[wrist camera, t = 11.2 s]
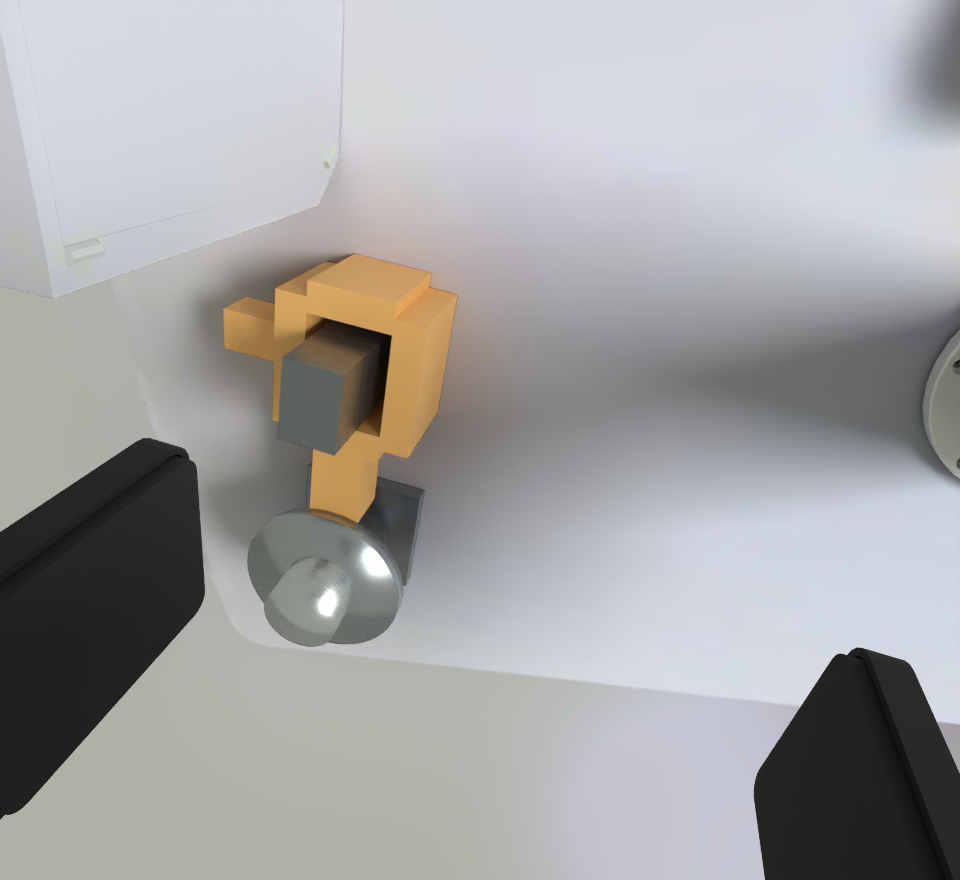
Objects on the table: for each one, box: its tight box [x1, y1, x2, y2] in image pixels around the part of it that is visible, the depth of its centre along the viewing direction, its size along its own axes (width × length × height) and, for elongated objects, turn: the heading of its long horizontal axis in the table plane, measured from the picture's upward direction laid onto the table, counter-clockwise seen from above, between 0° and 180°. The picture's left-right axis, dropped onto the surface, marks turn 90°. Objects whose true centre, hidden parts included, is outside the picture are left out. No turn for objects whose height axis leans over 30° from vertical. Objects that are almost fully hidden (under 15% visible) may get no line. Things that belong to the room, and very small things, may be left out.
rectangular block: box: [278, 320, 392, 456], centre depth 34 cm, size 3×4×10 cm
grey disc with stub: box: [247, 462, 424, 647], centre depth 42 cm, size 10×10×10 cm
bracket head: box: [223, 254, 458, 523], centre depth 38 cm, size 12×14×6 cm
